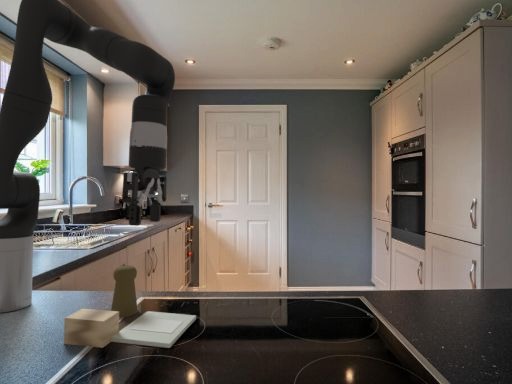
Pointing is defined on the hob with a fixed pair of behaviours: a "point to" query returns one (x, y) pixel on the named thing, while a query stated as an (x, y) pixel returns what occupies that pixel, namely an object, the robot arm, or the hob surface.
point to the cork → (124, 291)
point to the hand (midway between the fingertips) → (145, 223)
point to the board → (155, 329)
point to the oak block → (91, 327)
